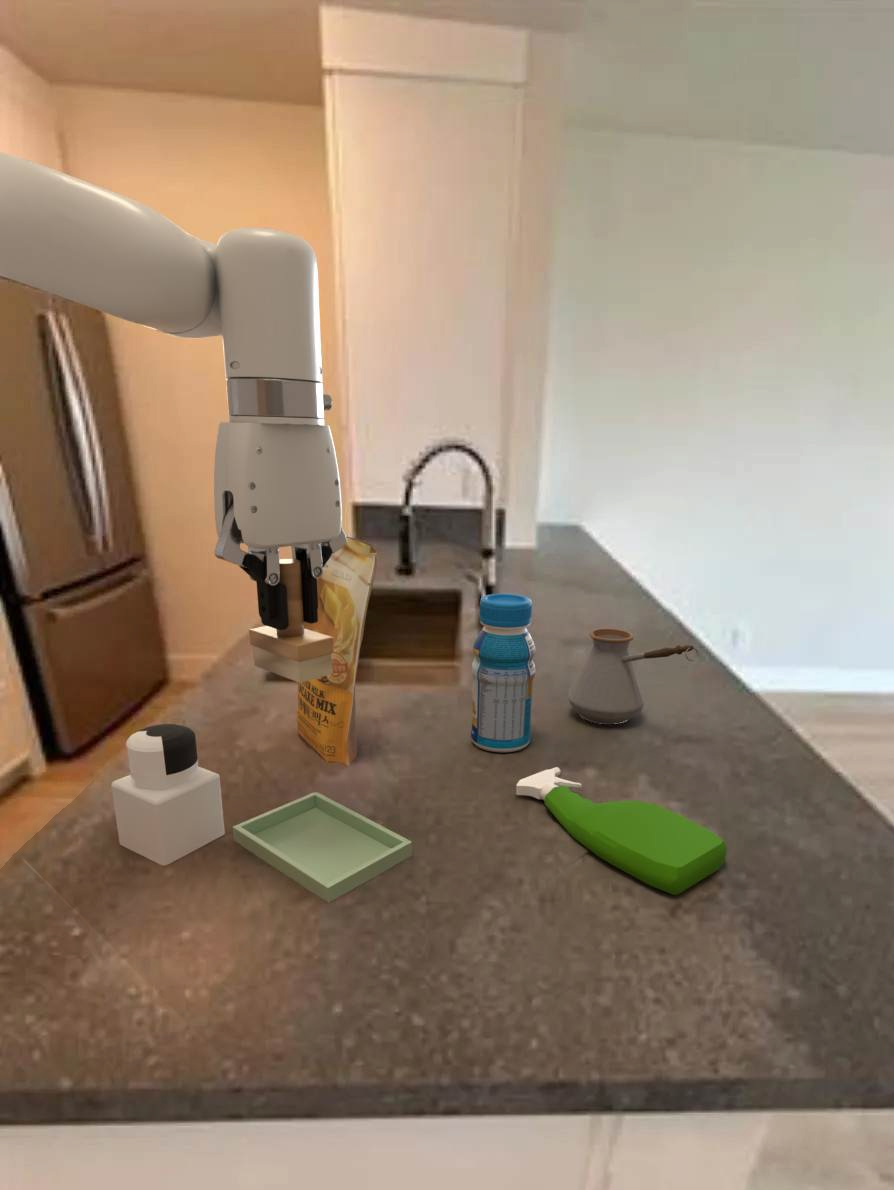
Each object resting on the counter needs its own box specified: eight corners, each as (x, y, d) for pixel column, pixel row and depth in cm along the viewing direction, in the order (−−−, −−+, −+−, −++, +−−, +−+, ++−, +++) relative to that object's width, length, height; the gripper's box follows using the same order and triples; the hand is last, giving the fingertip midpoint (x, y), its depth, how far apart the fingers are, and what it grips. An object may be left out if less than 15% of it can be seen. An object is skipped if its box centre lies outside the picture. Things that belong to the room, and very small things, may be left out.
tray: (233, 843, 73) (232, 826, 72) (316, 806, 81) (315, 791, 80) (328, 906, 64) (327, 888, 63) (412, 858, 72) (412, 841, 71)
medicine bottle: (181, 816, 78) (169, 712, 74) (226, 836, 74) (216, 728, 70) (118, 846, 72) (102, 735, 68) (164, 869, 68) (150, 753, 65)
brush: (251, 665, 67) (242, 558, 64) (286, 657, 70) (279, 553, 67) (300, 684, 63) (293, 569, 60) (335, 674, 65) (330, 564, 62)
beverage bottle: (493, 760, 93) (499, 609, 87) (457, 737, 100) (460, 595, 94) (544, 745, 98) (552, 601, 92) (506, 725, 105) (512, 589, 99)
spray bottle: (668, 905, 66) (494, 802, 83) (735, 863, 73) (561, 776, 90) (671, 876, 65) (495, 779, 83) (739, 837, 72) (563, 755, 89)
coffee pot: (551, 710, 111) (557, 615, 106) (607, 697, 117) (615, 607, 113) (651, 763, 94) (663, 653, 90) (711, 745, 100) (725, 641, 96)
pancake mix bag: (330, 715, 106) (322, 521, 97) (385, 765, 91) (382, 541, 82) (284, 723, 102) (272, 523, 94) (334, 777, 87) (325, 544, 79)
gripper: (327, 409, 67) (335, 602, 73) (157, 400, 55) (182, 632, 61) (381, 410, 63) (385, 616, 69) (209, 400, 51) (231, 650, 57)
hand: (289, 621), depth 65 cm, fingers closed on brush, 2 cm apart
